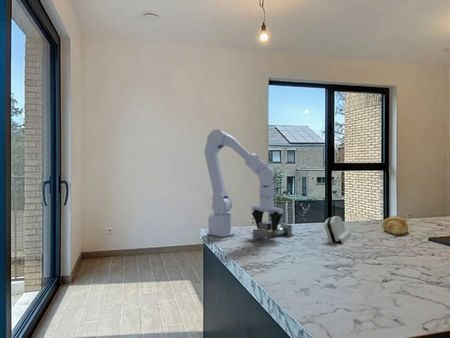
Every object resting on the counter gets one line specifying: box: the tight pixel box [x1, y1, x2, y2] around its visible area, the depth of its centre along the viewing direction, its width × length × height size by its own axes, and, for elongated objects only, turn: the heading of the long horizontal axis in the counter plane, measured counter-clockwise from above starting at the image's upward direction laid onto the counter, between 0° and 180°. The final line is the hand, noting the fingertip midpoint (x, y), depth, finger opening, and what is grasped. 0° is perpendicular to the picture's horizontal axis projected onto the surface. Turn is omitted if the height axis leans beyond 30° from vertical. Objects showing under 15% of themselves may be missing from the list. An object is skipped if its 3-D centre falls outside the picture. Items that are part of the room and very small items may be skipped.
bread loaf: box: [381, 215, 409, 235], centre depth 156 cm, size 21×10×8 cm, turn 159°
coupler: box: [257, 220, 275, 240], centre depth 147 cm, size 5×5×6 cm
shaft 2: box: [274, 222, 295, 237], centre depth 150 cm, size 8×6×4 cm
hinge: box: [324, 215, 352, 245], centre depth 142 cm, size 17×5×10 cm, turn 151°
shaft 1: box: [250, 228, 270, 244], centre depth 140 cm, size 8×6×4 cm
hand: (266, 229), depth 147 cm, fingers open, 7 cm apart
